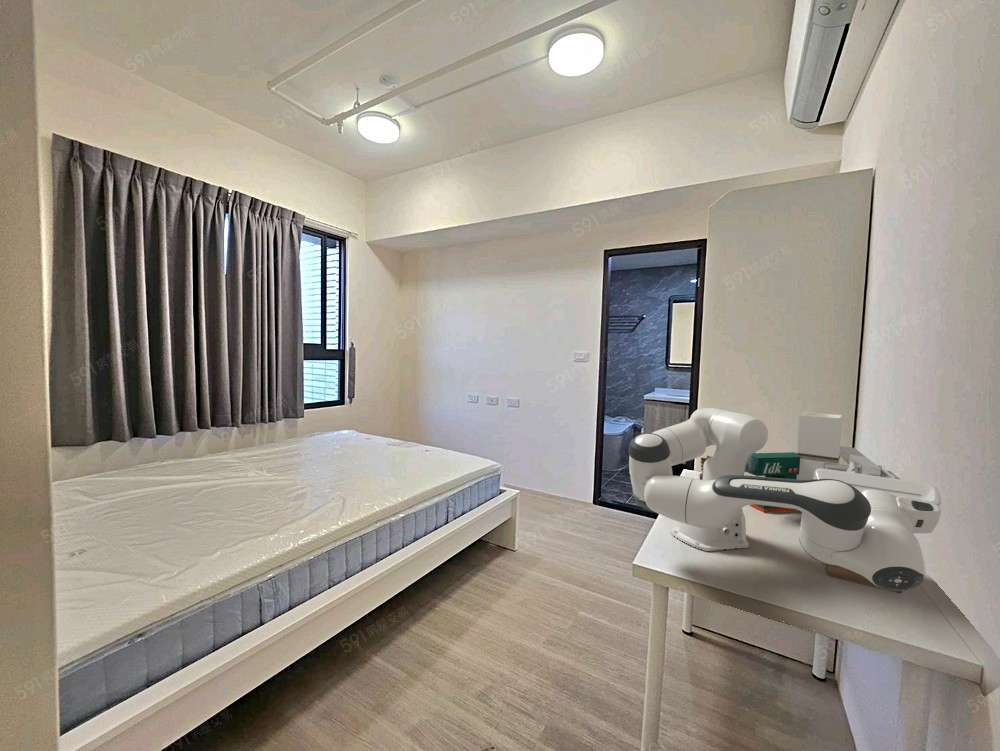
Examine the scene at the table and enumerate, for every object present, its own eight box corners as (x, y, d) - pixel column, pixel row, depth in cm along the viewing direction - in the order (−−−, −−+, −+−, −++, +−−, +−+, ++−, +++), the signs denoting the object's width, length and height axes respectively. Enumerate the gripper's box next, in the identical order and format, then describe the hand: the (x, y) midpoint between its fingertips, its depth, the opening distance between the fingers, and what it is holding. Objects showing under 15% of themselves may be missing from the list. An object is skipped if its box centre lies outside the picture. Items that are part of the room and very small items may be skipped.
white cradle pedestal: (837, 510, 150) (841, 415, 148) (835, 518, 142) (839, 418, 140) (799, 502, 157) (802, 412, 156) (795, 510, 149) (799, 414, 148)
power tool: (731, 515, 144) (735, 459, 143) (717, 507, 151) (720, 453, 149) (808, 510, 150) (812, 457, 148) (791, 503, 156) (795, 452, 155)
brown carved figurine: (711, 490, 169) (713, 454, 168) (716, 495, 164) (718, 458, 163) (696, 489, 170) (698, 453, 169) (701, 493, 165) (703, 457, 164)
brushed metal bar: (879, 479, 90) (880, 468, 89) (861, 476, 91) (862, 465, 91) (853, 457, 109) (854, 447, 109) (839, 455, 111) (840, 446, 111)
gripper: (813, 511, 91) (807, 468, 101) (943, 534, 80) (922, 484, 90) (817, 491, 88) (811, 448, 97) (953, 513, 77) (931, 463, 87)
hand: (866, 465), depth 94 cm, fingers closed on brushed metal bar, 3 cm apart
